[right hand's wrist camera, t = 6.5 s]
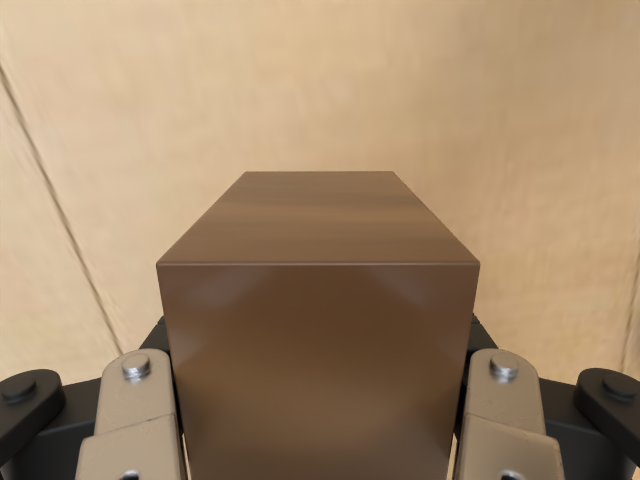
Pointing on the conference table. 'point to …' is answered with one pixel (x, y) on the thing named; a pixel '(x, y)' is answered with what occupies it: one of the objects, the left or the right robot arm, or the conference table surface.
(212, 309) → the bar
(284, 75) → the conference table surface
